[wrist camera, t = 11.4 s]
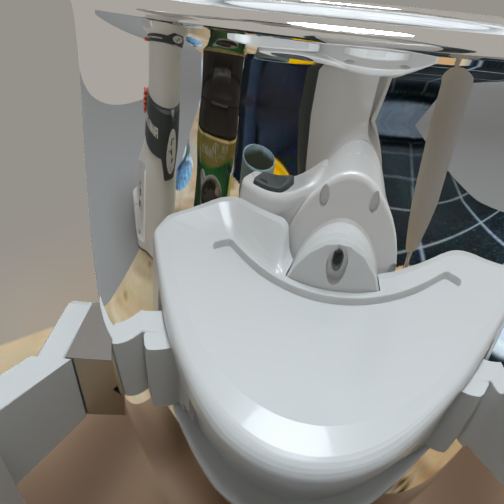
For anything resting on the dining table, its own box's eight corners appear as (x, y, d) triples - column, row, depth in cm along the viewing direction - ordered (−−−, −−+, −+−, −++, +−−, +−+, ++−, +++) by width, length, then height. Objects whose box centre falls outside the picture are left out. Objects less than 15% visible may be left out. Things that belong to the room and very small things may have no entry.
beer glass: (248, 404, 17) (296, -6, 9) (397, 531, 14) (705, 37, 5) (101, 537, 13) (-68, -31, 5) (266, 778, 9) (873, 117, 1)
